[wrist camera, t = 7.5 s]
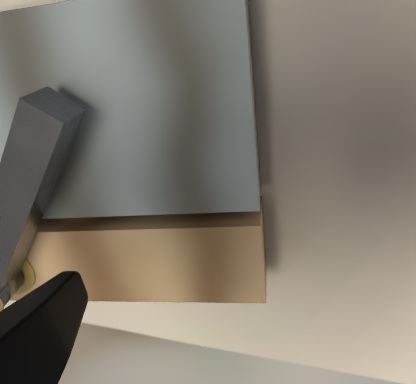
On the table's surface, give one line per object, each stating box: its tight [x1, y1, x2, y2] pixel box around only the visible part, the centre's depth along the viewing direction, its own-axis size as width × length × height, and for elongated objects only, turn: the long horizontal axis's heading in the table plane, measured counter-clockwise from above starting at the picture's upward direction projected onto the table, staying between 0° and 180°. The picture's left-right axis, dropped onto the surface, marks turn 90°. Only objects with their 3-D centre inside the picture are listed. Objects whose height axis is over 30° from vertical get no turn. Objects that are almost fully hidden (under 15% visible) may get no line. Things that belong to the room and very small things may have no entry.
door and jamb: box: [0, 0, 266, 303], centre depth 18 cm, size 18×16×4 cm
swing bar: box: [0, 86, 86, 311], centre depth 17 cm, size 14×3×2 cm, turn 150°
